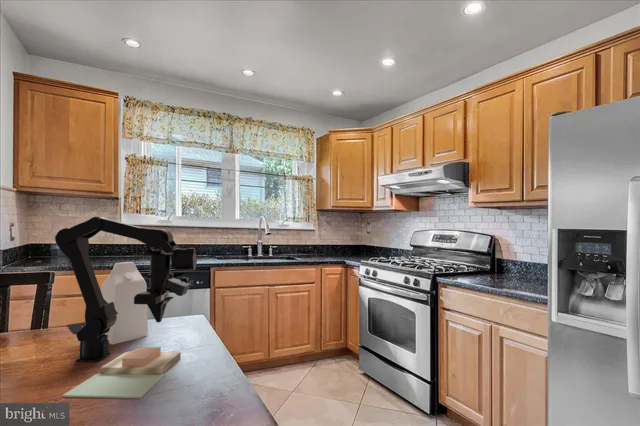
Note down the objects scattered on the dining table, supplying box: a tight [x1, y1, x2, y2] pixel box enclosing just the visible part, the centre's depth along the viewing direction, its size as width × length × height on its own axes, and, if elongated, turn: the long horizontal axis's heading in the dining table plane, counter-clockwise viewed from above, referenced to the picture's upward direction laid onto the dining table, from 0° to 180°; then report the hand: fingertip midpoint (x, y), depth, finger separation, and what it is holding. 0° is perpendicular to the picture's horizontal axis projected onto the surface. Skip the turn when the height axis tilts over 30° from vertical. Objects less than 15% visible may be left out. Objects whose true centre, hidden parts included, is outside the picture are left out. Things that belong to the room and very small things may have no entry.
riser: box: [100, 350, 181, 375], centre depth 99 cm, size 16×12×2 cm
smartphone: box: [66, 321, 86, 335], centre depth 136 cm, size 7×1×15 cm
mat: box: [62, 373, 166, 399], centre depth 87 cm, size 18×12×1 cm, turn 89°
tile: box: [122, 346, 162, 367], centre depth 98 cm, size 6×9×2 cm, turn 178°
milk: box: [100, 261, 149, 345], centre depth 126 cm, size 12×12×26 cm
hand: (158, 322), depth 108 cm, fingers closed
